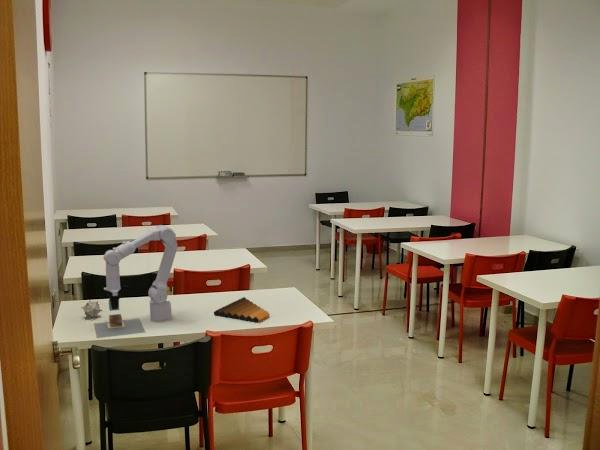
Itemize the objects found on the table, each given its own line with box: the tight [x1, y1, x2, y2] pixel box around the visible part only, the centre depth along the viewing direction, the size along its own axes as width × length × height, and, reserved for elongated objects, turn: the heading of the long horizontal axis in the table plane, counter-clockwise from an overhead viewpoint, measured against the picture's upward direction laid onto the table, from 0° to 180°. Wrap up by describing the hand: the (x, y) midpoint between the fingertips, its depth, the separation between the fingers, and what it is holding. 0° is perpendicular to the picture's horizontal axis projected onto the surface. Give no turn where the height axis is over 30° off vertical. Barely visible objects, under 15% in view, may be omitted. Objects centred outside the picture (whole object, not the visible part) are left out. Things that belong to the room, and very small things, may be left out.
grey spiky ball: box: [81, 299, 103, 320], centre depth 281 cm, size 9×8×10 cm
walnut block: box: [108, 313, 123, 327], centre depth 268 cm, size 5×5×4 cm
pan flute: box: [213, 296, 270, 324], centre depth 292 cm, size 25×3×25 cm
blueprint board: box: [93, 318, 146, 339], centre depth 265 cm, size 20×20×1 cm
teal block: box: [108, 299, 120, 312], centre depth 266 cm, size 4×4×4 cm
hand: (114, 307), depth 266 cm, fingers closed on teal block, 4 cm apart
